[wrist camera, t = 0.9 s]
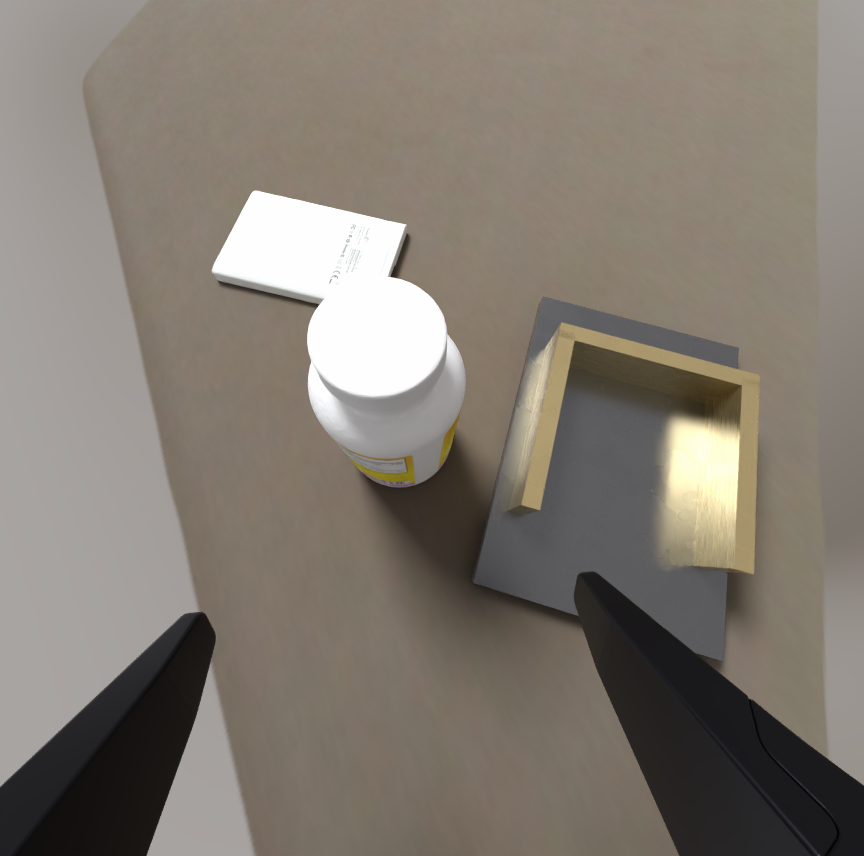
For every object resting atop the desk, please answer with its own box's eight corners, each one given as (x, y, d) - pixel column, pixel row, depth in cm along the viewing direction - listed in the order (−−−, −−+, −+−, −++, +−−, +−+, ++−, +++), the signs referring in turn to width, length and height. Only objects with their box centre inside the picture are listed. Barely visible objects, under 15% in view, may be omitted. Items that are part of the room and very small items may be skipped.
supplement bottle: (421, 376, 26) (421, 225, 14) (469, 458, 24) (518, 370, 12) (332, 419, 25) (246, 296, 13) (376, 508, 23) (326, 466, 11)
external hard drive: (262, 205, 31) (407, 237, 30) (221, 286, 29) (378, 322, 28) (253, 187, 29) (406, 221, 29) (209, 270, 27) (376, 309, 26)
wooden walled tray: (709, 656, 21) (773, 680, 17) (471, 581, 22) (481, 588, 18) (727, 355, 27) (777, 323, 23) (538, 304, 28) (557, 266, 24)
